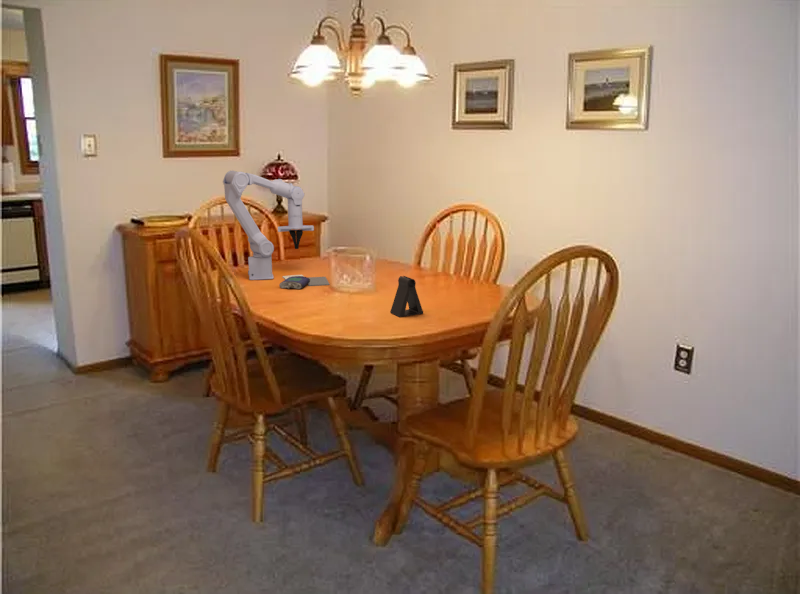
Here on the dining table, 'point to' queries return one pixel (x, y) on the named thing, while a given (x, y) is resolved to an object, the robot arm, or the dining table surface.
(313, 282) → the board
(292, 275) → the napkin
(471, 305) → the dining table surface
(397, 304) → the phone stand
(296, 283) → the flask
